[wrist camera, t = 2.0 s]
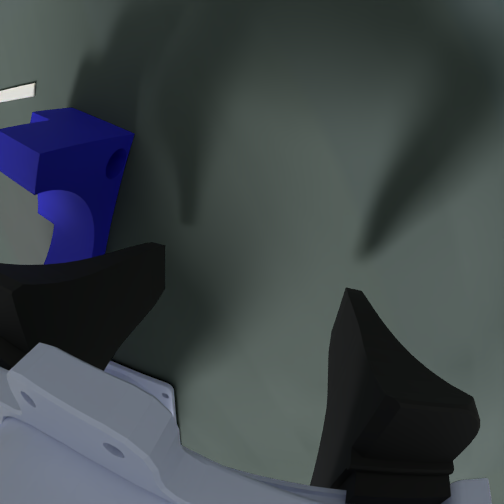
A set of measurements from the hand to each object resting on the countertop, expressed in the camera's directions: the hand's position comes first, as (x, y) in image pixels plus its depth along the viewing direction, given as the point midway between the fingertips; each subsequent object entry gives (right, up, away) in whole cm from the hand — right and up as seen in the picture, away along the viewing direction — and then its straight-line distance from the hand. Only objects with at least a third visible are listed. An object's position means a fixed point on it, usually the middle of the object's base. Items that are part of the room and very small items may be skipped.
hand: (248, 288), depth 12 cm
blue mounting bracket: (-9, +3, +4) cm, 11 cm away
